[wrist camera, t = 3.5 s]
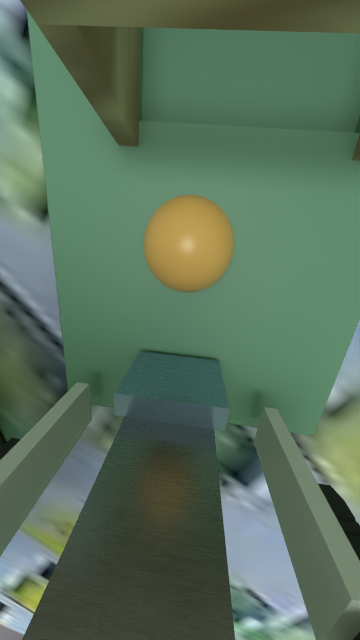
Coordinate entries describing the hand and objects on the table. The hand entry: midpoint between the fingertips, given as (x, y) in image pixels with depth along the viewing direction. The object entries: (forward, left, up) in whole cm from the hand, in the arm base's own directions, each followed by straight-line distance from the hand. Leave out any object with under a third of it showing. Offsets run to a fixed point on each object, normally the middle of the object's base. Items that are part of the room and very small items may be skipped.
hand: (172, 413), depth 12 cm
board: (+1, +10, -3) cm, 10 cm away
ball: (0, +10, 0) cm, 10 cm away
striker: (0, +1, -2) cm, 2 cm away
